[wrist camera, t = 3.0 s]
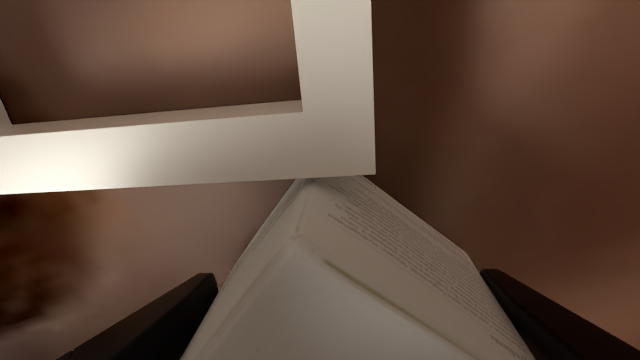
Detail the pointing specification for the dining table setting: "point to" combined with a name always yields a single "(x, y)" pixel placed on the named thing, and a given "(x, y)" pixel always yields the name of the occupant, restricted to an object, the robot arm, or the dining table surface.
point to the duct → (220, 126)
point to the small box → (353, 287)
